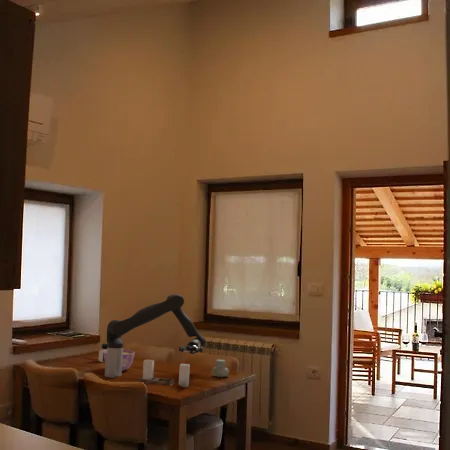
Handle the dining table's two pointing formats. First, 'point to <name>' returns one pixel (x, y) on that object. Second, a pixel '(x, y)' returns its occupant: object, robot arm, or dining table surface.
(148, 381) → the pallet
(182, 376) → the block
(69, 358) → the dining table surface
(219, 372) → the air freshener
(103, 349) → the medicine bottle
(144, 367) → the block
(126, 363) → the bowl of food
